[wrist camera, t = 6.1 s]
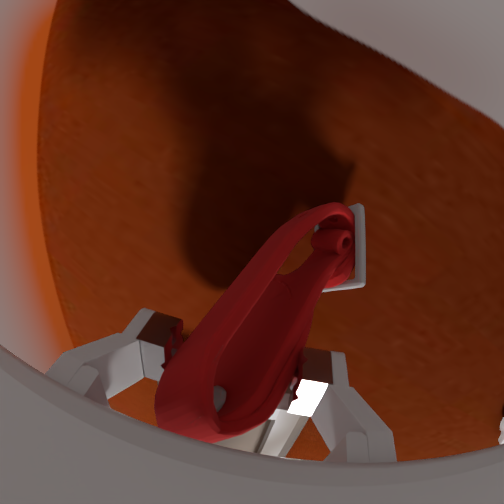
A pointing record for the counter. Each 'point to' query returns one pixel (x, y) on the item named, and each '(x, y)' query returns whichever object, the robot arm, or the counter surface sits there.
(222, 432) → the tracker holder
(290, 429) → the grey rectangular tray
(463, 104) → the counter surface
